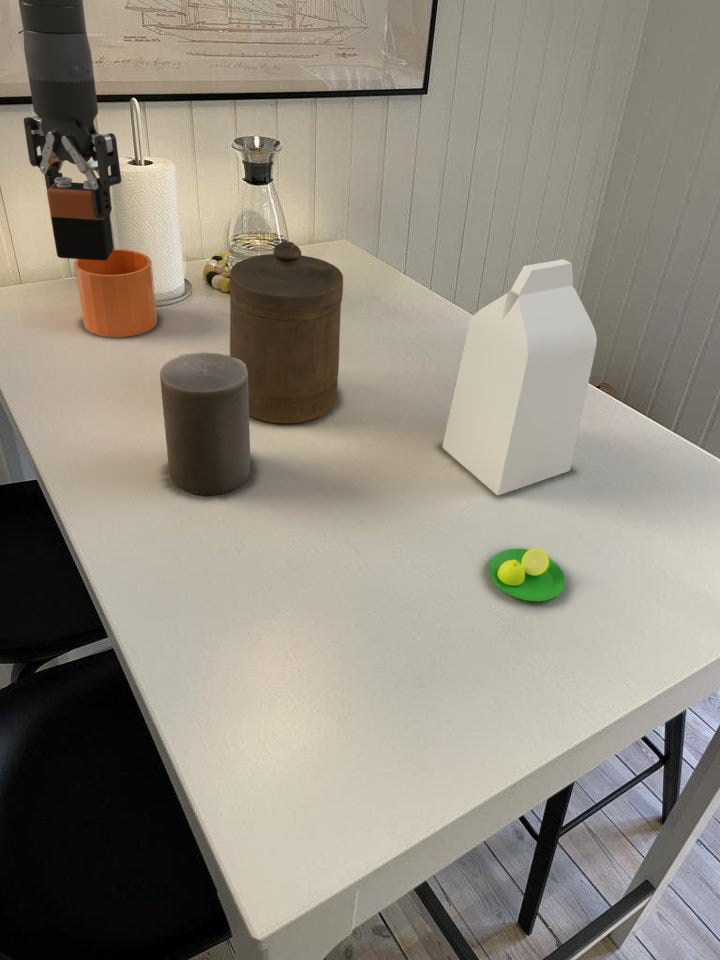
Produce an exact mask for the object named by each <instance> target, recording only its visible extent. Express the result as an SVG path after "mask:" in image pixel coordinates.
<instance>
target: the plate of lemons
mask: <svg viewBox="0 0 720 960" xmlns="http://www.w3.org/2000/svg"><path fill="white" fill-rule="evenodd" d="M488 572H489V576H490V578H491V580H492V582H493V583H494V584H495V585H496V587H498V588H499V589H500V590H501V591H502V592H504V593H506V594H507V595H510V596H512V597H513V598H516V599H520V600H523V601H529V602H543V601H548V600H551V599H554V598H556V597H558V596H559V595H560V594H561V593H562V592H563V590H564V588H565V583H566V579H565V578H566V577H565V574H564V572H563V570H562V569H561V567H560V566H559V565H558V564H557V563H556V562H555V561H554V560H553V559H551V558H550V557H549V556H548V554H547V553H546V552H545V551H544V550H542V549H540V548H531V549H527V548H510V549H509V548H508V549H505V550H502V551H500V552H498V553H496V554H495V555H494V556H493V557H492V558H491V559H490V562H489V564H488Z"/></svg>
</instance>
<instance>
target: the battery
mask: <svg viewBox="0 0 720 960" xmlns="http://www.w3.org/2000/svg"><path fill="white" fill-rule="evenodd" d="M91 189H92V186H91V185H90V183H89V181H88V179H87V180H84V181H83V182H76V181H75V182H73V178H72V177H67V176H63V177H57V178H56V179H55V183H54V184H53V185H52V186H51V187H50V188H49V189H48V190H47V189H46V195H47V197H46V198H47V203H48V208H49V214H50V215H49V216H50V221H51V226H52V233H53V238H54V244H55V251H56V256H57V257H58V258H59V259H69V260H76V259H85V260H102V261H105V260H107V259H108V258H109V256H110V254H111V253H112V251H113V249H114V241H113V231H112V222H111V214H110V215H109V216H107V217H104V218H98V217H95V215H94V209H93V201H92V193H91Z"/></svg>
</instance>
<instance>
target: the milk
mask: <svg viewBox="0 0 720 960" xmlns="http://www.w3.org/2000/svg"><path fill="white" fill-rule="evenodd" d="M573 285H574V277H573V263H572V262H570V261H569V260H566V259H565V258H563V259H557V260H551V261H544V262H539V263H533V264H527V265H523V267H522V269H521V271H520V272H519V274H518V276H517V277H516V279H515V282H514V283H513V285H512V287H511V289H510V290H509V291H507V292H506V293H505V294H503V295H502V296H500V297H497V299H495V300H493V301H492V302H490V303H489V304H487V305H485V306H483V307H482V308H481V309H479V310H477V312H475V314H473V316H472V317H471V318H470V321H469V323H468V326H467V330H466V331H467V332H466V336H465V341H464V345H463V350H462V354H461V359H460V365H459V368H458V372H457V377H456V383H455V386H454V392H453V395H452V396H453V397H452V401H451V405H450V411H449V413H448V414H449V415H448V419H447V423H446V428H445V433H444V437H443V442H442V447H441V449H443V450H444V451H445V452H447V453H448V454H449V455H450V456H451V457H452V458H453V459H455V460H456V461H457V462H458V463H459V464H460V465H462V466H463V467H464V468H465V469H466V470H467V471H468V472H470V474H471V475H473V476H474V477H475V478H477V480H479V481H480V483H482V484H484V485H485V486H486V487H487V488H488V489H489V490H490V491H491V492H492V493H494V494H495V495H496V496H501V495H504V494H507V493H510V492H512V491H515V490H519V489H521V488H524V487H527V486H530V485H533V484H536V483H539V482H542V481H545V480H547V479H550V478H553V477H556V476H559V475H562V474H564V473H567V472H571V467H572V463H573V458H574V454H575V449H576V444H577V439H578V434H579V430H580V425H581V420H582V415H583V412H584V406H585V401H586V396H587V392H588V387H589V382H590V379H591V374H592V369H593V363H594V359H595V353H596V349H597V342H598V339H597V333H596V330H595V327H594V325H593V323H592V320H591V318H590V316H589V314H588V312H587V309H586V308H585V306H584V305H583V302H582V300H581V299H580V296H579V294H578V292H577V290H576V287H574V286H573Z"/></svg>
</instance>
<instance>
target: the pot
mask: <svg viewBox="0 0 720 960" xmlns="http://www.w3.org/2000/svg"><path fill="white" fill-rule="evenodd" d="M73 267H74V273H75V279H76V285H77V291H78V297H79V304H80V310H81V311H80V312H81V316H82V322H83V326H84V328H85V329H86V330H87V331H88V332H89V333H91V334H94V335H98V336H101V337H106V338H127V337H134V336H139V335H141V334H145V333H146V332H149V331H151V330H153V328H155V326H156V325H157V323H158V313H157V302H156V293H155V283H154V271H153V262H152V260H151V258H150V256H148V255H147V254H144V253H143V252H140V251H136V250H132V249H131V250H130V249H119V248H113V251H112V253H111V254H110V256H109V258H108V259H107V260H105V261H102V260H85V259H74V262H73Z"/></svg>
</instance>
